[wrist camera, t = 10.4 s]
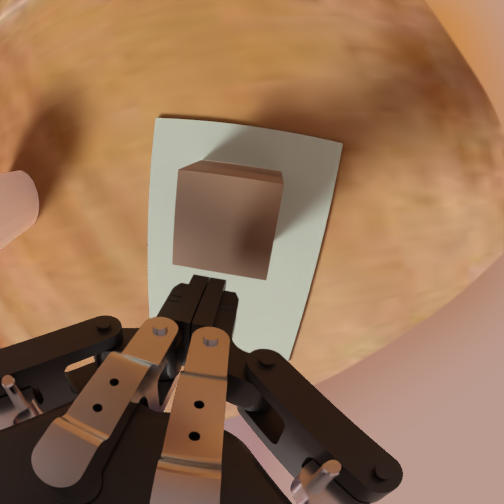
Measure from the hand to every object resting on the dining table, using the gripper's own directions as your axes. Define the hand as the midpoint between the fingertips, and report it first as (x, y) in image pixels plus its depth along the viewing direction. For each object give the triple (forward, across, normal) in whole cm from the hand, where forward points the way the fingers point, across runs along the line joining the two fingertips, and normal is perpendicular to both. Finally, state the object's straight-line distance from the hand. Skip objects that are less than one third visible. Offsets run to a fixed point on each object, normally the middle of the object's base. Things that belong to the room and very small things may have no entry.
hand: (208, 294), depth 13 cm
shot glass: (+8, +20, 0) cm, 21 cm away
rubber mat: (+7, 0, +1) cm, 7 cm away
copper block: (+2, 0, -3) cm, 3 cm away
